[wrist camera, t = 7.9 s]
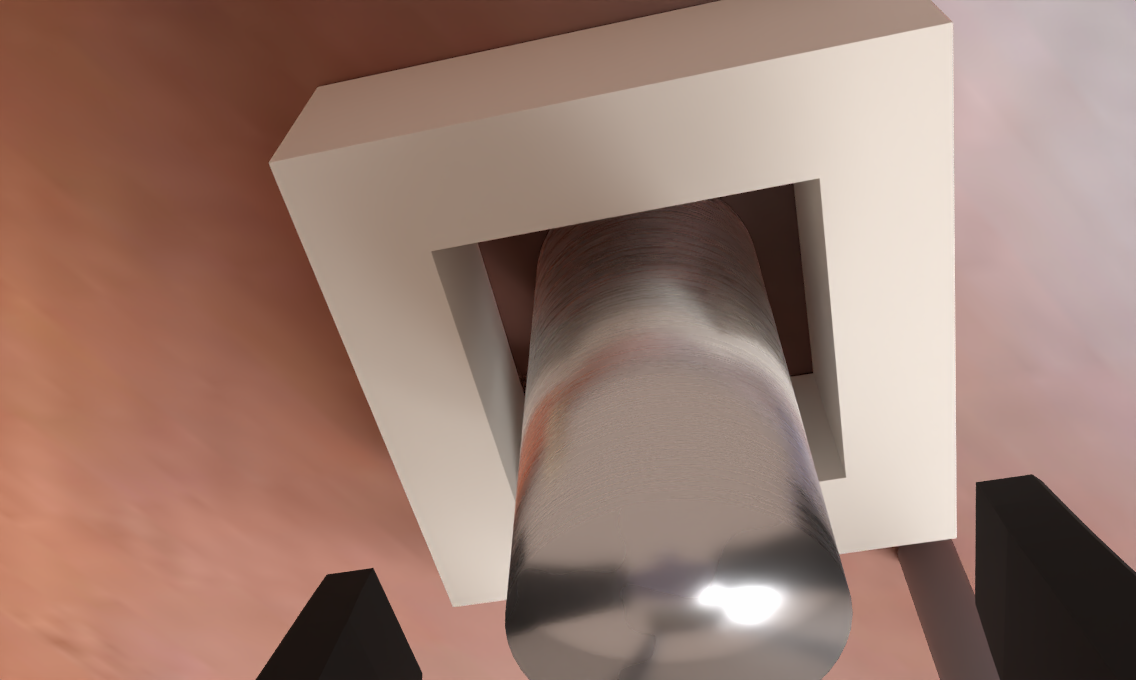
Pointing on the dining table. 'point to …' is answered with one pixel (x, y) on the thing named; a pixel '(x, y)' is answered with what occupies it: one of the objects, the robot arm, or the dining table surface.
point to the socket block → (635, 184)
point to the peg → (666, 466)
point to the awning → (947, 611)
